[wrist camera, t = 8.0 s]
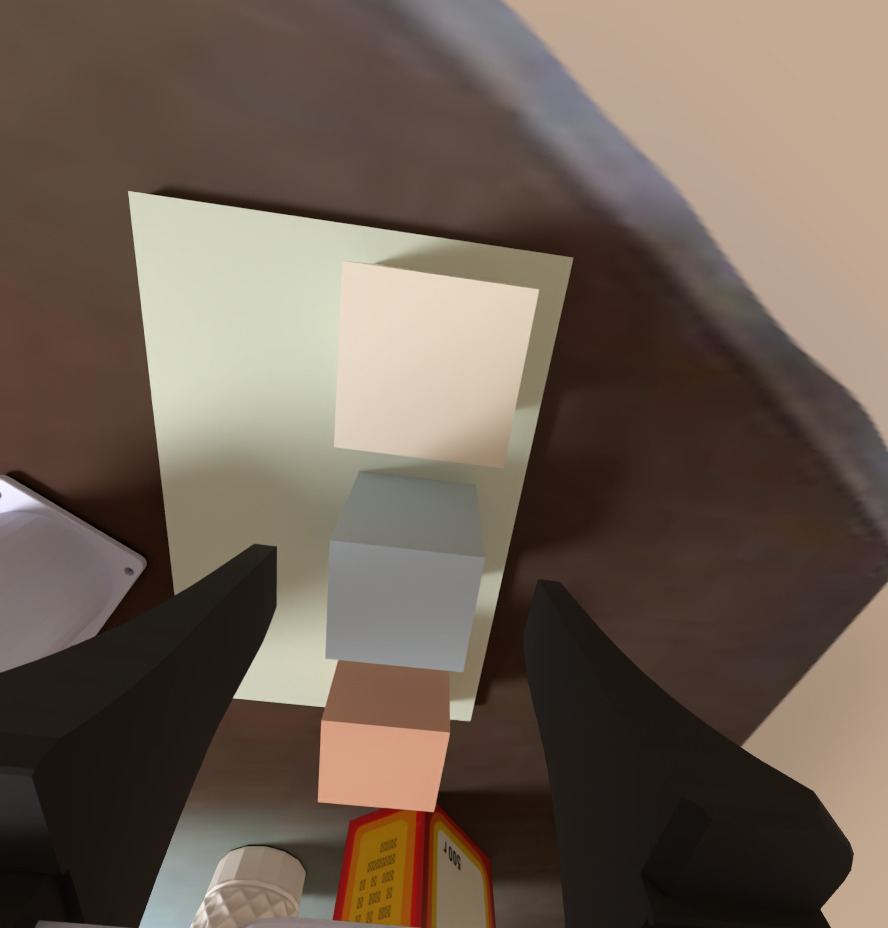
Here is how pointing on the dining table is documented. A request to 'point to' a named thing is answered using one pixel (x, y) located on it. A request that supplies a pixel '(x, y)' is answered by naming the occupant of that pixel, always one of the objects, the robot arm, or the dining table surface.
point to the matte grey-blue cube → (404, 573)
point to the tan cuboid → (429, 363)
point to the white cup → (252, 888)
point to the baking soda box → (414, 873)
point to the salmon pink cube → (384, 736)
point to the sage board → (299, 409)
